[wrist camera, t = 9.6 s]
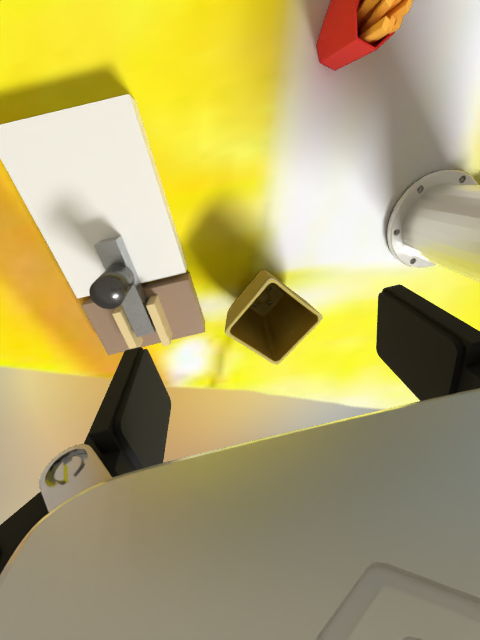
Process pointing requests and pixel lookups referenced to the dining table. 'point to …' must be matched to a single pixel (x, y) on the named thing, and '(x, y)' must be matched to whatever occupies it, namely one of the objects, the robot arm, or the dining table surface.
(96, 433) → the robot arm
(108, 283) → the bolt
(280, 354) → the flower pot
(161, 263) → the slide latch panel
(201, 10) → the dining table surface
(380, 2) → the french fries
